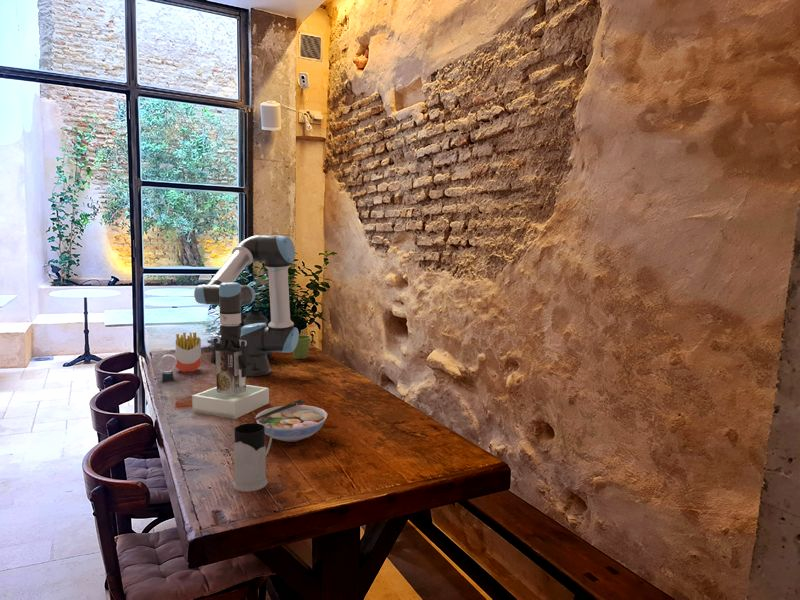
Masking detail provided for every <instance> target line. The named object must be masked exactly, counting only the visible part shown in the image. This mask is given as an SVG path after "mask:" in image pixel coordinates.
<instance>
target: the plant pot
mask: <svg viewBox="0 0 800 600" xmlns="http://www.w3.org/2000/svg"><path fill="white" fill-rule="evenodd" d="M311 339H312V336H311V335H307V334H299V338H298V343H297V346H296V348H295V350H294V351H293V352H292V355H293V358H294V359H299V360H300V359H303V360H304V359H306V358H308V355H309V347H310V342H311Z"/></svg>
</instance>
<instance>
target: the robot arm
mask: <svg viewBox="0 0 800 600" xmlns="http://www.w3.org/2000/svg"><path fill="white" fill-rule="evenodd" d="M295 256H296V248H295V245H294V242H293V240H292V239H291V238H290V237H289V236H286V235H285V236H284V235H253V236H250V237H248V238H246V239H243V240H242V241H240V242H239V243H238V244H237V245H235V246H234V248H233V249H232V251H231V255H230V256H229V257H228V259H227V260H226V261H225V262H224V263H223V264H222V266H221V267H220V268H219V269H218V271H217V272H216V273H215V274H214V275H213V276H212V277H211V279H210V280H209V281H208V282H207V284H198V285H196V287H195V288H194V293H193V295H194V300H195V301H196V303H198V304H201V305H219V324H220V325H219V335H220V337H215V338H214V339H213V350H212V355H211V361H210V362H211V364H212V365H214V366H216V350H220V349H221V350H225V349H230V350H232V351H238V350H241V351H242V355H240V356H238V363H239V365H240V368H239V386H243V385H245V377H246V378H247V377H260V376H266V375H269V374H271V369H272V368H271V365H270V361H269V360H268V359H267V352H272V353H282V354H285V353H293V351H294V350H295V348H296V346H297V343H298V338H299V335H300V332H299V329H298V328H297V327H295V323H294V321H292V320H291V312H290V311H291V309H290V293H289V292H290V291H289V289H290V288H289V268H290V267H291V265H292V264H291V263H294V261H295V259H296V257H295ZM254 262H261V263H262V262H263V263H264V268H266V269H267V271H268V273H267V274H268V287H269V289H268V290H269V291H268V292H269V303H270V304H269V305H270V322H269V323H267V325H266V323H255V324H249V325H245V324H244V326H243V327H242V328H241V325H240V323H241V319H242V307H243V306H247V305H249V304H252V303H253V302H254V301H255V299H256V291H255V289H254V288H253V287H252V286H250V285H244V284H242V285H241V284H240V283H239V282H235V281H236V280H237V279H238V277H239V276H240V274H241V273H242V271H244V270H245V268H246V267H249V266H250V265H251V264H252V263H254Z"/></svg>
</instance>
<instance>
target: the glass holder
mask: <svg viewBox="0 0 800 600" xmlns="http://www.w3.org/2000/svg"><path fill="white" fill-rule="evenodd" d="M268 424H269V426H270V436H269V439H268V440H269V441H268V445H267V447H266V443H265V442H266V441H265V439H266V438H265V437H266V436H265V435H266V434H265V428H266V426H267V425H268ZM233 432H234V433H233V434H234V443H233V457H234V458H233V461H234V462H233V463H234V464H233V465H234V466H233V468H234V469H233V471H234V472H233V473H234V474H233V475H234V481H233V483H232V488H233V489H234V490H235V491H239V492H255V491H259V490H261V489H264V488H265V487H266V486H267V485H268V483H269V481H268V479H267V477H266V475H267V472H266V471H267V469H266V467H267V466H266V462H267V460H266V458H267V455H268V454H269V451H270V448H271V446H272V442H273V438H272V436H273V427H272V424H270V423H266V424H265V425H262V424H258V423H257V422H254V423H253V422H252V423H251V422H247V423H242V424H240V425H237V426H235V427H234V431H233Z"/></svg>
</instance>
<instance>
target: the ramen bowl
mask: <svg viewBox="0 0 800 600" xmlns="http://www.w3.org/2000/svg"><path fill="white" fill-rule="evenodd" d="M305 403H306V400H302V399H297V400H295V401H292V402H291V403H288V404H286V405H278V406H273V407H270V408H266V409H264V410H262V411H260V412H258V413H257V414H256V415H255V417H254V418H252V419H250V420H248V421H247V423H251V422H252V423H253V422H254V421H256V423H258V424H262V425H265V424H266V423H270V424H272V427H273V436H272V439H274V440H278V441H282V442H286V443H293V442H299V441H302V440H304V439H306V438H310V437H311V436H313V435H314V434H316V433H317V432H319V431H320V429H321V428H322V427H323V426H324V424H325V422H326V420H327V417H328V414H329V413H328V412H326V410H324V409H323V408H320V407H317V406H312V405H306V404H305ZM265 435H267V436H268V437H270V426H269V424H268V425H267V426H266V428H265Z"/></svg>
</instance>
